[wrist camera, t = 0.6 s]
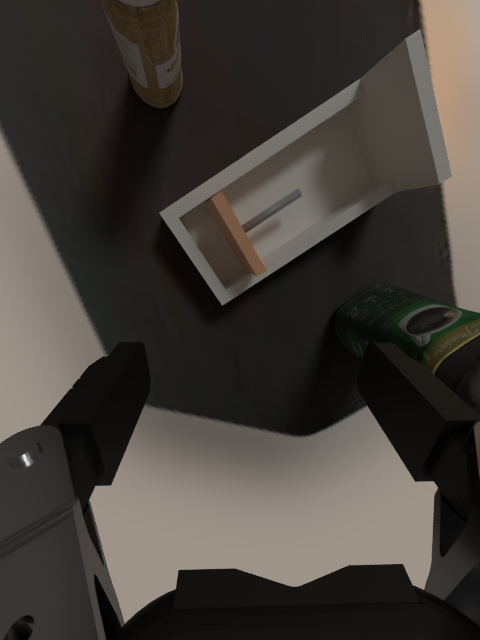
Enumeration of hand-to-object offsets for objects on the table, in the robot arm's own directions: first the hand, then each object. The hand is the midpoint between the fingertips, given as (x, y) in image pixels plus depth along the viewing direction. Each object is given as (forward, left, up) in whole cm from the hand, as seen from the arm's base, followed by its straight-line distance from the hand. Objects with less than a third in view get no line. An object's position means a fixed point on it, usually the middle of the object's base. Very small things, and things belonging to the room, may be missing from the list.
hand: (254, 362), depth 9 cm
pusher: (+2, +8, -20) cm, 22 cm away
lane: (+3, +10, -21) cm, 24 cm away
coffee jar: (+21, +4, -21) cm, 30 cm away
